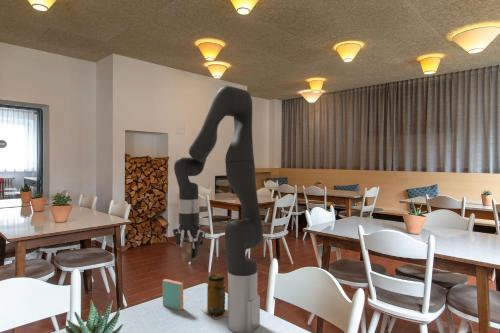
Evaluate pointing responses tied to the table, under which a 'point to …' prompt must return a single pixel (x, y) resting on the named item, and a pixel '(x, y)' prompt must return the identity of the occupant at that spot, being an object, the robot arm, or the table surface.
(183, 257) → the block
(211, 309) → the condiment
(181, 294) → the tile
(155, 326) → the table surface
